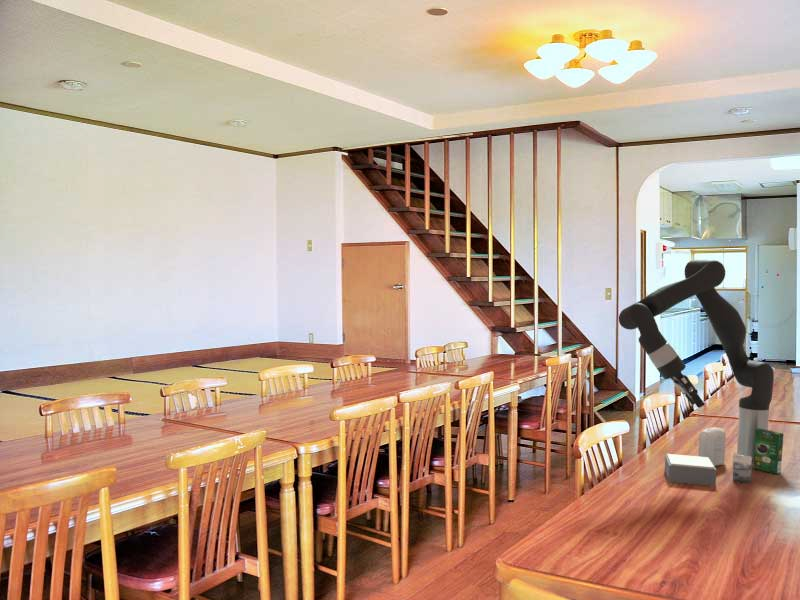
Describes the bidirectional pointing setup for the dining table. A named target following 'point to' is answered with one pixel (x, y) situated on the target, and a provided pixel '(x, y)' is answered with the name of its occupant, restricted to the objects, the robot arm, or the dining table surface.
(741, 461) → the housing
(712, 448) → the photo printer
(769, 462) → the coffee box
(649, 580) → the dining table surface
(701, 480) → the stand
